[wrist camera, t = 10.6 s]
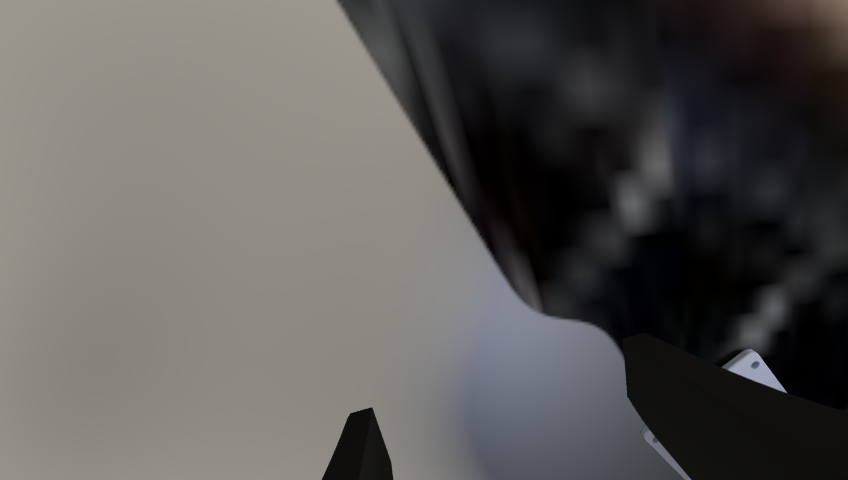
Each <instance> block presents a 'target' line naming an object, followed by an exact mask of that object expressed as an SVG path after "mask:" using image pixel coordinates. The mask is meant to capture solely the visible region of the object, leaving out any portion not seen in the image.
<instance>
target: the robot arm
mask: <svg viewBox="0 0 848 480" xmlns="http://www.w3.org/2000/svg"><path fill="white" fill-rule="evenodd" d="M623 345H624V358H625V371H626V385H627V397H628V398H629V400H630V401H631V403H632V405H633V406H634V408H635V409H636V411H637V412H638V414H639V415H640V417H641V418H642V420H643V421H644V423H645V424H646V425H645V426H644V427H643V428H642V430H641V435H642V437H643V438H644V439H645V440H646V441H647V442H648V443H649V444H650V445H651V446H652V447H653V448H654V449H655V450H656V451H657V452H658V453H659V454H660V455H661V456H662V457H663V458H664V459H665V460H666V461H667V462H668V463H669V464H670V465H671V466H672V467H673V468H674V469H675V470H676V471H677V472H678V473H679V474H680V475H681V476H682V477H683V478H684V479H685V480H848V412H844V411H841V410H838V409H834V408H831V407H828V406H825V405H822V404H819V403H815V402H812V401H809V400H806V399H803V398H800V397H797V396H794V395H791V394H788V393H787V392H786V391H785V390H784V388H783V387H782V386H781V384H780V383H779V382H778V380H777V379H776V377H775V376H774V375H773V373H772V372H771V371H770V369H769V368H768V367H767V365H766V364H765V363H764V361H763V360H762V359H761V357H760V356H759V355H758V354H757V353H756V352H755V351H753V350H752V349H747V350H744V351H742V352H741V353H740V354H738V355H737V356H736V357H734V358H733V359H732V360H730V361H729V362H728V363H726V364H725V365H724V366H723V367H719V366H717V365H715V364H713V363H710V362H708V361H706V360H703V359H701V358H699V357H697V356H694V355H692V354H690V353H688V352H686V351H683V350H681V349H679V348H677V347H675V346H672V345H670V344H668V343H666V342H664V341H661V340H659V339H657V338H654V337H652V336H650V335H647V334H645V333H642V334H639V335H635V336H632V337H628V338H624V339H623ZM322 480H393V475H392V465H391V460H390V458H389V455H388V452H387V449H386V446H385V443H384V440H383V438H382V434H381V431H380V429H379V426H378V423H377V420H376V417H375V414H374V411H373V408H368V409H364V410H361V411H357V412H353V413H351V414H350V415H349V417H348V419H347V421H346V424H345V426H344V429H343V431H342V434H341V437H340V439H339V442H338V444H337V446H336V449H335V451H334V454H333V456H332V458H331V461H330V463H329V465H328V467H327V469H326V472H325V474H324V476H323V478H322Z"/></svg>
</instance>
